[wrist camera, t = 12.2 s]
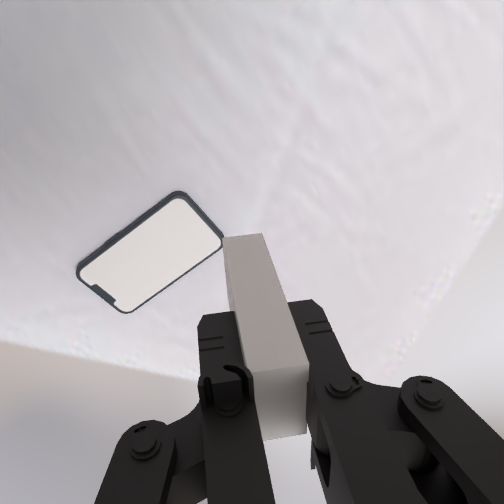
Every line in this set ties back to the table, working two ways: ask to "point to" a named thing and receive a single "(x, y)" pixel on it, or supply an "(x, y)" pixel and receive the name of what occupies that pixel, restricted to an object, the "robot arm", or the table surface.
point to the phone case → (151, 253)
